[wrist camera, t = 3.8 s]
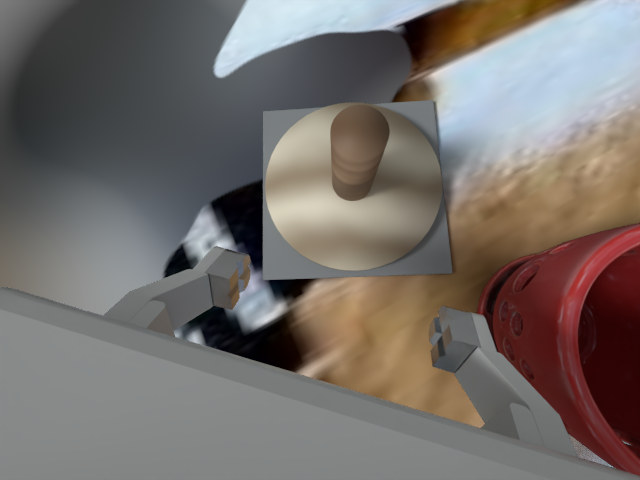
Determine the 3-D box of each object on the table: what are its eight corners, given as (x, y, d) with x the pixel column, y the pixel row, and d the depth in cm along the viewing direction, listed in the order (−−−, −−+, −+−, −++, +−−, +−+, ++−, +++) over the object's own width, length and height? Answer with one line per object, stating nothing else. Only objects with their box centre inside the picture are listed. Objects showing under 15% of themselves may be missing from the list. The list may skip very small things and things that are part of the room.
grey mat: (450, 273, 25) (452, 273, 24) (264, 279, 25) (262, 279, 25) (431, 102, 27) (433, 100, 27) (264, 113, 28) (263, 111, 28)
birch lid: (446, 267, 24) (515, 257, 15) (268, 274, 25) (228, 267, 16) (428, 105, 27) (477, 9, 18) (268, 115, 28) (233, 29, 18)
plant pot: (540, 220, 25) (725, 161, 13) (649, 347, 23) (988, 413, 11) (424, 301, 24) (508, 316, 13) (524, 439, 22) (740, 614, 10)
